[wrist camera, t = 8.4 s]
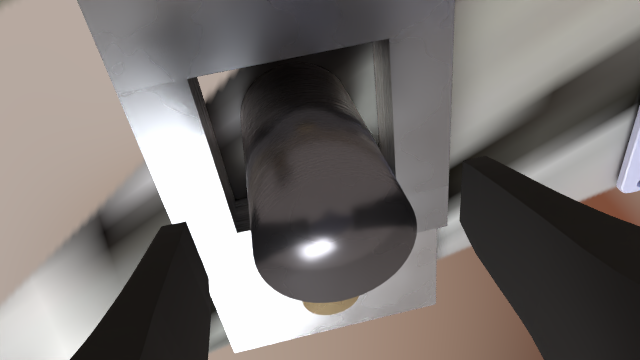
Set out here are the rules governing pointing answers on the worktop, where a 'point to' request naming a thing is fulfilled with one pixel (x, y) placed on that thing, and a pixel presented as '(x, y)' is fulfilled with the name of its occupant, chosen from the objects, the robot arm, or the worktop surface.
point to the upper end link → (257, 48)
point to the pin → (319, 189)
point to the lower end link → (309, 318)
